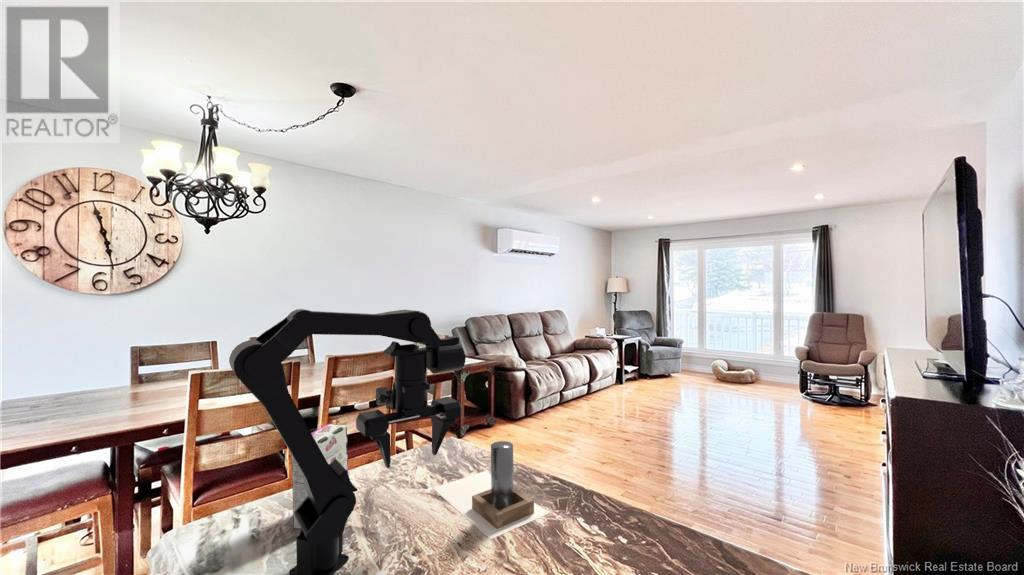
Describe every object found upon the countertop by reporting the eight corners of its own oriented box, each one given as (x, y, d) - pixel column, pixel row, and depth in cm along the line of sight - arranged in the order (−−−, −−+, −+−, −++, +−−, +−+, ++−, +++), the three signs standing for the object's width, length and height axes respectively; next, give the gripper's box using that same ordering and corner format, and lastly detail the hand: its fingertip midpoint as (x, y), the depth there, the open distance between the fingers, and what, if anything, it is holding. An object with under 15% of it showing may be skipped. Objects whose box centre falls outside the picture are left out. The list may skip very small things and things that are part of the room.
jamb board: (549, 517, 81) (549, 512, 81) (490, 544, 73) (490, 539, 73) (485, 474, 100) (485, 470, 100) (432, 492, 91) (432, 488, 91)
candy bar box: (328, 499, 89) (327, 422, 89) (349, 501, 88) (348, 424, 88) (290, 529, 78) (289, 442, 78) (314, 532, 77) (313, 444, 77)
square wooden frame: (534, 513, 81) (533, 500, 81) (497, 529, 76) (497, 515, 76) (507, 494, 88) (507, 483, 88) (472, 508, 83) (472, 495, 83)
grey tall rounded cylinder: (508, 518, 79) (508, 451, 79) (487, 514, 81) (487, 448, 81) (516, 507, 83) (516, 442, 83) (496, 503, 85) (496, 440, 85)
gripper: (437, 364, 89) (437, 436, 89) (347, 376, 78) (347, 459, 78) (463, 373, 80) (463, 453, 80) (365, 388, 69) (366, 481, 69)
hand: (411, 460), depth 77 cm, fingers open, 9 cm apart
